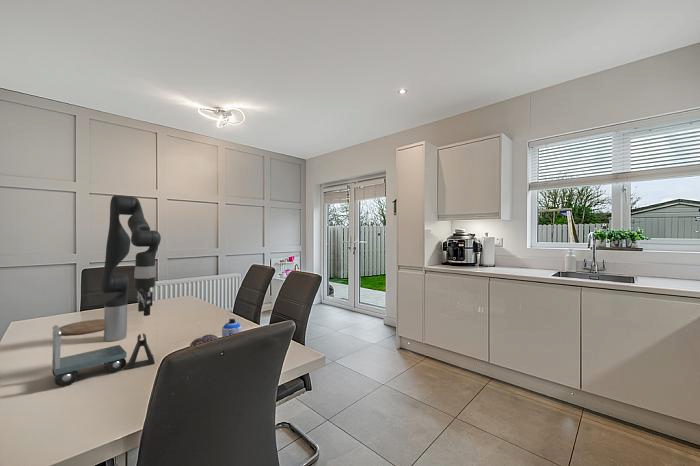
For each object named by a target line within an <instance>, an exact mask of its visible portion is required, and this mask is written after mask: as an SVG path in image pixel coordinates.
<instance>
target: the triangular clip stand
mask: <svg viewBox="0 0 700 466" xmlns="http://www.w3.org/2000/svg"><path fill="white" fill-rule="evenodd" d="M142 337H143V339H142ZM141 347H144V351H145V354H146V357H147V359H144V360H139V361H137V357H138V355H139V351H140V349H141ZM155 364H156V362H155V357H154V356H153V353H152V351H151V349H150V346H149V344H148V342H147V335H146V334H145V333H142V334H141V333H139V334H138V335H137V342H136V344H135V347H134V349H133V350H132V353H131V356H130V358H129V360H128V363H127V370H128V371H129V370H133V369H140V368H142V367H148V366H152V365H155Z"/></svg>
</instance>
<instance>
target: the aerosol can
mask: <svg viewBox="0 0 700 466" xmlns="http://www.w3.org/2000/svg"><path fill="white" fill-rule="evenodd" d="M242 327H243V326H242V324H240V323H239V322H237V321H236V319H235V318H229V319H228V322H226V323H225V324H224V325H223V326H222V329H221V338H222V337H224V336H228V335H231V334H235V333H238V332H242V333H243V331H242V330H243V328H242Z"/></svg>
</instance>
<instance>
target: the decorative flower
mask: <svg viewBox="0 0 700 466" xmlns="http://www.w3.org/2000/svg"><path fill="white" fill-rule="evenodd" d="M216 338H218V339H219V337H218V336H216V335H214V334H205V335H202V336H201V337H197V338H195V339H194V340H192V341H191V342H190V344H189V346H192V345H196V344H199V343H202V342H206V341H209V340H212V339H216Z"/></svg>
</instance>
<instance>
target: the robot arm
mask: <svg viewBox="0 0 700 466" xmlns="http://www.w3.org/2000/svg"><path fill="white" fill-rule="evenodd" d="M109 205H110V206H109V226H108V227H109V228H108V233H107V240H106V246H105V260H104V268H103V271H102V275H101V281H100V289H101V292H102V293H103V294H112V293H117V294H116V295H114V296H113V297H111V298H108V299H106V300H104V316H103V317H104V318H103V319H104V330H103V341H104V342H115V341H120V340H123V339H125V338H127V336H128V335H127V333H128V300H129V299H128V298H129V286H130V285H129V284H130V280H129V276H128V274H127V273H116V274H115V273H114V271H115V269H116V268H117V267H118V265H119V264H121V262H123V261H124V259H125V258H126V257H127V256H128V254H129V253H130V250H131V244H132V245H133V246H134V247H137V248H138V247H139V248H140V247H143V248H144V247H148V249H147V250H144V251H140V252H137V253H136V254H135V264H134V265H135V267H134V271H133V273H134V275H133V276H134V277H133V287H134V289H136V301H137V303H138V305H137V306H138V307H137V309H138V310H137V312H139V313H141V312H143V316H144V317H147V316H150V315H151V307H153V299H154V298H153V295H154V294H153V291H151V288H154V287H155V286H156V256H157V252H158V248H159V246H160V243H161V239H162V237H161V234H160V233H159V231H157V230H151V227H150V225H149V223H148V222H147V220H146V218H145V217H144V212H143V208H142V204H141V201H140V200H139V198H137V197H135V196H127V195H118V194H116V195H115V194H114V195H113V196H112V197H111V199H110V202H109ZM120 215H122V216H123V215H124V216H130V217H129V218H128V219H127V227H128V228H129V231H130V232H131V237H130V236H129V234H128V233H127V231H126V230H125V228H124V227H123V225H122V224H121V221H120Z"/></svg>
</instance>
